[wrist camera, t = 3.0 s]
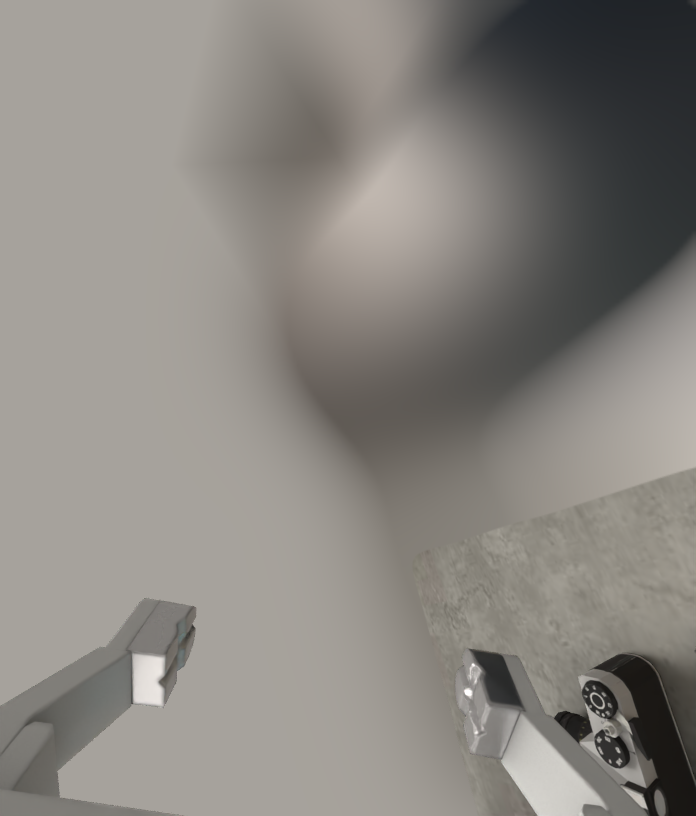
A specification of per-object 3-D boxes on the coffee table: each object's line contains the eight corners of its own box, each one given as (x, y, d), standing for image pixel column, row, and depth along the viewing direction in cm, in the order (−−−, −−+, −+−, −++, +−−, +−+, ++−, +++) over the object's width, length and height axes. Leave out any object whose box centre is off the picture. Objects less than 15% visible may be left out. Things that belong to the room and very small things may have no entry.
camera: (559, 641, 44) (508, 663, 39) (665, 659, 35) (618, 690, 30) (601, 798, 38) (549, 847, 33) (737, 863, 30) (696, 943, 25)
